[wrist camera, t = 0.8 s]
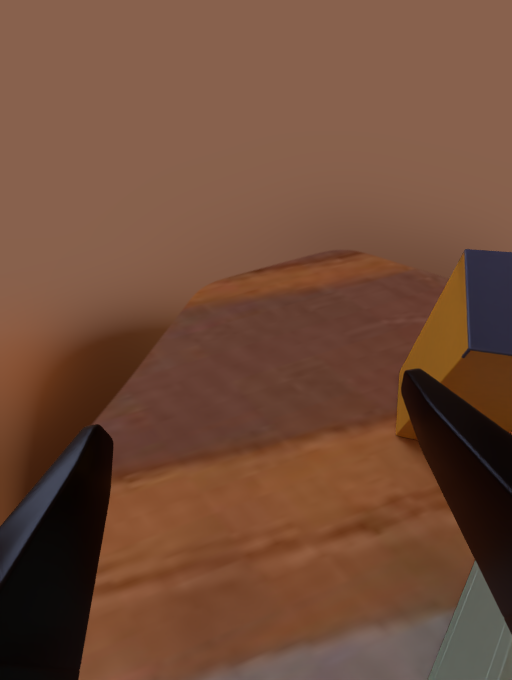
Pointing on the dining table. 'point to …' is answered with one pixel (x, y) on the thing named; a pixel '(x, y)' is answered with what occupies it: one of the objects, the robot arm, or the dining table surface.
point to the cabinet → (475, 637)
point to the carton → (469, 339)
